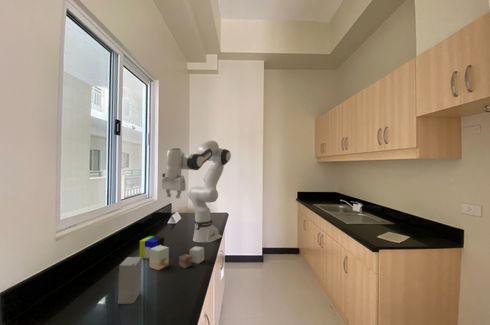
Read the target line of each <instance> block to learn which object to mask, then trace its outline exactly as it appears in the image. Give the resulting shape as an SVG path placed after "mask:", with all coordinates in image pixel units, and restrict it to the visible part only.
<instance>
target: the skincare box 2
mask: <svg viewBox="0 0 490 325" xmlns="http://www.w3.org/2000/svg"><path fill="white" fill-rule="evenodd" d="M189 255H190V256H192V264H193V263H194V264H200V263H202V262H203V261H205V247H203V246H198V245H197V246H196V245H195V246H193V247H192V248H190V249H189Z"/></svg>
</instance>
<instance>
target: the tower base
mask: <svg viewBox="0 0 490 325" xmlns="http://www.w3.org/2000/svg"><path fill="white" fill-rule="evenodd" d="M169 258H170V257H166V258H164V259H161V260H159V261H157V260H154V259H151V258H149V261H148V262H149V264H148V265H149V268H151V269H153V270H157V271H160V270H162V269H165V268H166V267H168V266H169V260H170V259H169Z"/></svg>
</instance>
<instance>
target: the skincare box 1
mask: <svg viewBox="0 0 490 325" xmlns="http://www.w3.org/2000/svg"><path fill="white" fill-rule="evenodd" d="M142 262H143V258H142V257H140V256H139V257H138V256H127V257H126V258H125V259H124V260H123V261H122V262H121V263H120V264H119V265H118V268H119V269H118V294H117V304H118V305H120V304H121V305H125V304H129V305H131V304H132V303H133V304H135V302H136V301H137V299H138V297H139V296H140V293H141V288H142V286H141V282H142V267H143V266H142V264H143V263H142Z"/></svg>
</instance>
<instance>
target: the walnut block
mask: <svg viewBox="0 0 490 325" xmlns="http://www.w3.org/2000/svg"><path fill="white" fill-rule="evenodd" d="M178 266H179V267H181V268H183V269H186V268H188V267H191V266H193V262H192V256H190V254H187V253H186V254H183V255H180V256H178Z"/></svg>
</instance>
